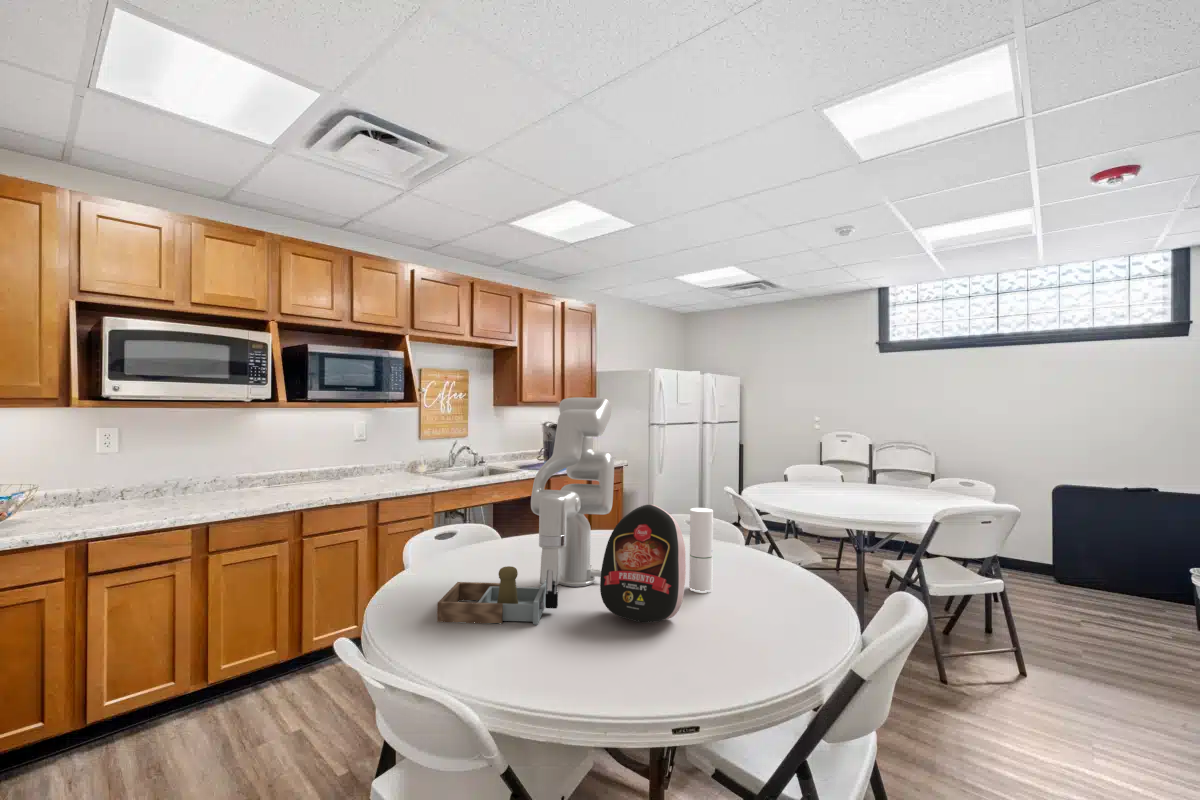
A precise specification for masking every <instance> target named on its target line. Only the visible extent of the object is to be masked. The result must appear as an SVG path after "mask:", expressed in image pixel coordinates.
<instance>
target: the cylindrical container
mask: <svg viewBox="0 0 1200 800" xmlns="http://www.w3.org/2000/svg"><path fill="white" fill-rule="evenodd" d="M713 555H714V510H713V509H711V508H707V507H706V508H705V507H693V508H692V507H691V508H690V509H689V574H688V575H689V577H688V578H689V587H690V588H692V589H695V590H700V591H705V590H710V589H712V590H713V586H714V585H713V580H714V579H713V571H714V570H713V569H714V567H713V566H714V565H713V564H714V561H713V559H714V556H713ZM689 587H688V588H689Z"/></svg>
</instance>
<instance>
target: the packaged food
mask: <svg viewBox="0 0 1200 800" xmlns="http://www.w3.org/2000/svg"><path fill="white" fill-rule="evenodd" d="M686 566H687V565H686V543H685V540H684V536H683V532H682V530H681V528H680V525H679V523H678V522H677V520H676V519H675V518H674V517H673V516H672V515H671V514H670V513H669V512H668V511H666V510H665V509H663V508H661V507H660V506H657V505H656V504H652V503H651V504H649V503H648V504H645V505H644V504H643V505H640V506H638V507H636V508H635V509H633V510H632V511H630V512H628V513H627V514H626V515H625V516H623V517H622V518H621V519H620V520H619V522H618V523H617V524H616V526H614V529H613V530H612V532H611V534H610V537H609V538H608V541H607V543H606V547H605V550H604V555H603V559H602V565H601V569H600V571H601V577H599V578H600V581H599V582H600V583H599V585H600V586H599V590H600V591H599V592H600V596H601V600H602V602H603V604H604V606H605V607H606V609H607V610H608V611H609V612H610V613H612V614H614V615H616V616H618V617H620V618H623V619H626V620H630V621H634V622H636V623H637V622H639V623H645V624H646V623H659V622H661V621H663V620H664V621H665V620H669V619H671V618H673V617H674V616H676V615H677V613H678V612H679V610H680V608H681V607H682V603H683V599H684V593H685V584H686V575H687V573H686V572H687V571H686Z"/></svg>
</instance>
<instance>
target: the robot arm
mask: <svg viewBox="0 0 1200 800" xmlns="http://www.w3.org/2000/svg"><path fill="white" fill-rule="evenodd" d="M611 405H612V404H611V402H610V401H609V400H608V399H607V398H604V397H567V398H563V399H562V400H560V403H559V407H558V408H559V415H558V419H557V423H556V424H557V426H556V430H555V437H554V444H553V451H552V455H551V456H550V458H549V459H548V460H546V461H545V463H543V464H542V465H541V467H540V468H539V469H538V471H537V473H536V475H535V477H534V480H533V484H532V489H531V490H532V491H531V497H530V509H531V512H532V513H533V514H535V515H537V516H539V517H538V518H539V519H538V520H539V521H538V527H539V528H538V547H539V548H541V555H540V571H539V573H540V576H539V585H540V586H541V585H543V584H544V583H545V581H546V601H545V607H544V608H545V609H557V608H558V605H559V603H558V602H559V591H558V585H561V586H565V587H575V588H576V587H577V588H578V587H586V586H590V585H592V584H594V583H595V581H596V580H595V577H597V578H601V569H594V568H593V567H592V564H591V534H592V533H591V531H592V530H591V529H592V528H591V525H590V522H589V519H588V518H587V517H586V516H585V515H607V514H608V515H609V514H610V512H611V511H612V508H613V501H614V482H615V481H614V480H615V478H614V477H615V462H614V461H615V460H614V457H613V456H612V454H610V453H609V452H607V451H594V450H593V449H594V448H593V446H594V438H595V437H596V438H598V437H601V436H602V435H603V434H604V432H605V431H606V427H607V426H608V424H609V421H610V419H611V416H612V406H611ZM565 469H566V475H567V477H568V478H570V479H571V480H580V481H582V480H583V481H597V482H598V483H599V484H592V483H591V484H590V483H569V484H565V485H564V486H562V487H561V489H560V490H559V489H545V487H546V484H547V482H548V480H549V479H550V478H551V477H552V476H553V475H555V474H556V473H558V472H560V471H563V470H565Z"/></svg>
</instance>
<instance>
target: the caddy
mask: <svg viewBox="0 0 1200 800" xmlns="http://www.w3.org/2000/svg"><path fill="white" fill-rule="evenodd" d="M490 586H497V587H500V582H476V581H475V582H472V581H470V582H469V581H457V582H456V583H455V584H454V585H453V586H452V587H451V588H450V589H449V590H448V591H447V592H446V593H445V594H444V595H443V596H442V597H441V599H439V601H437V609H436V612H437V614H436V616H437V617H436V622H437V623H452V622H466V623H465V624H484V623H502V624H503V621H502V618H503V603H478V602H477V600H480V599H481V598H482V596H483V595H484V594H485V592H486V591H487V590H488V588H489V587H490ZM462 600H476V601H462ZM458 601H459V602H458ZM474 622H475V623H474Z"/></svg>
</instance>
